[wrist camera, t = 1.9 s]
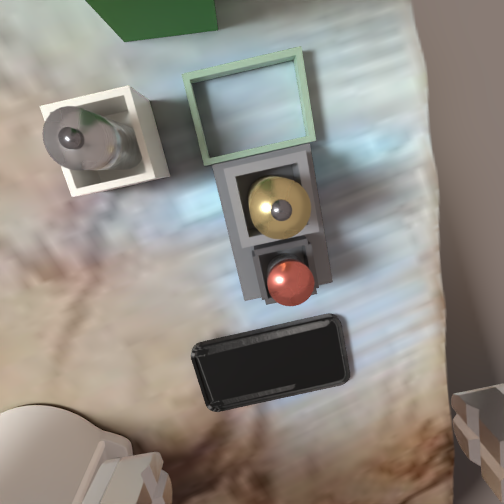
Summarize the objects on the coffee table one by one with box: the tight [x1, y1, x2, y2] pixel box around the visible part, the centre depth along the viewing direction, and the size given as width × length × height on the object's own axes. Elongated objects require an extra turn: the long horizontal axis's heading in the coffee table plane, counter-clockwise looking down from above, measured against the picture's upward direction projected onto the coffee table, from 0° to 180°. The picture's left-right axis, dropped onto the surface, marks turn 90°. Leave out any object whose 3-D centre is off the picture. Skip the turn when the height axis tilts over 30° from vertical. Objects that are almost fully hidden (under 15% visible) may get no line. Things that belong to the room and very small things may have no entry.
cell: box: [248, 175, 311, 239], centre depth 23 cm, size 4×4×9 cm
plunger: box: [267, 253, 314, 306], centre depth 25 cm, size 3×3×3 cm
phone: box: [191, 314, 350, 412], centre depth 33 cm, size 8×1×15 cm
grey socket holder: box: [212, 143, 333, 305], centre depth 27 cm, size 12×8×5 cm, turn 12°
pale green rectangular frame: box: [182, 46, 316, 166], centre depth 26 cm, size 7×9×1 cm
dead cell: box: [43, 106, 142, 170], centre depth 23 cm, size 4×4×9 cm
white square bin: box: [40, 85, 170, 197], centre depth 25 cm, size 6×6×5 cm
